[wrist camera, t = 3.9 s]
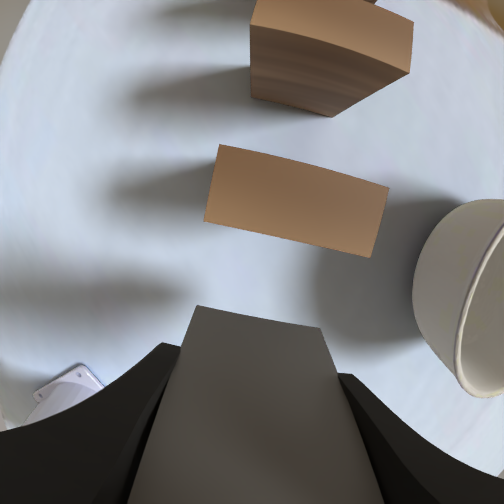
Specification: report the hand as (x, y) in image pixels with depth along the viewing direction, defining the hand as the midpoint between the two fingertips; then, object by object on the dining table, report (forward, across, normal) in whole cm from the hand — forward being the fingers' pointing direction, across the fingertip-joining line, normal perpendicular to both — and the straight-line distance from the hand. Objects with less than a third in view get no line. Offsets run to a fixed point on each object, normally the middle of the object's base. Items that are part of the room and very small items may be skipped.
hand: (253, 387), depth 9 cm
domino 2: (+10, 0, -6) cm, 11 cm away
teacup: (+10, -15, -4) cm, 18 cm away
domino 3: (+3, 0, 0) cm, 3 cm away
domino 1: (+10, 0, -11) cm, 15 cm away
